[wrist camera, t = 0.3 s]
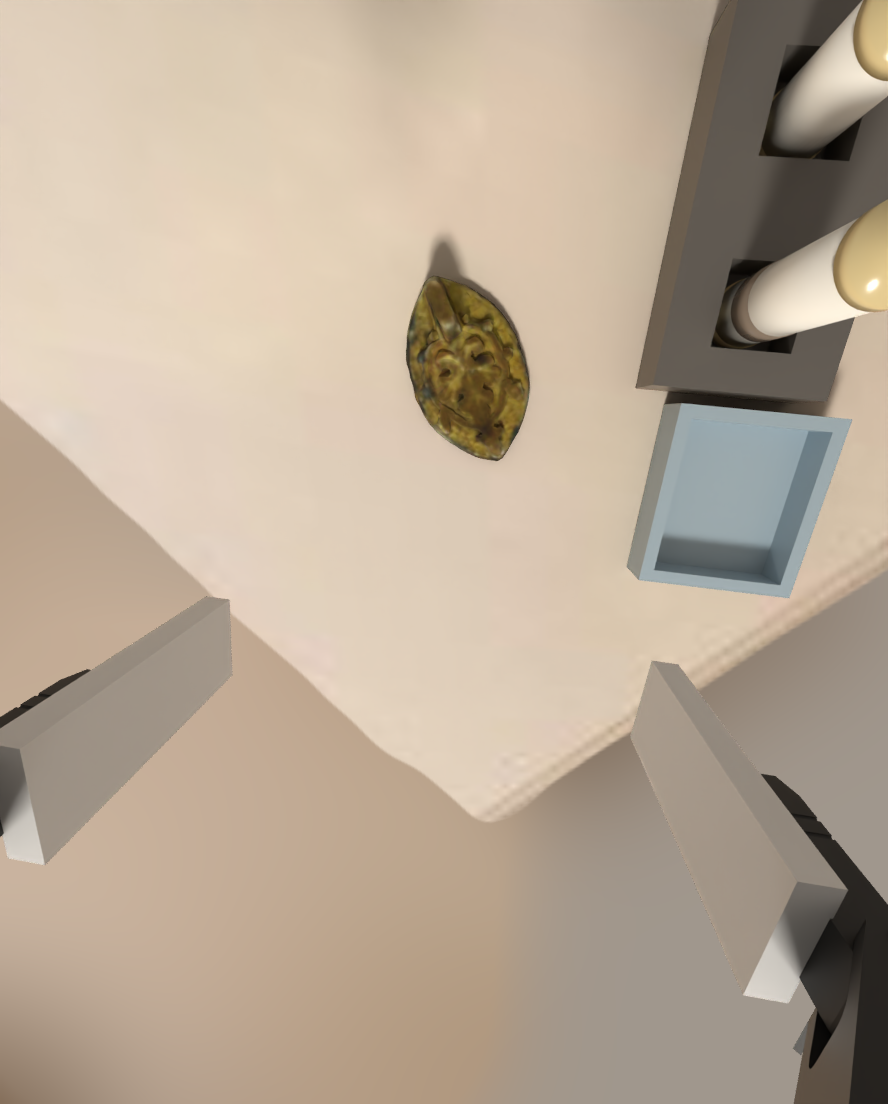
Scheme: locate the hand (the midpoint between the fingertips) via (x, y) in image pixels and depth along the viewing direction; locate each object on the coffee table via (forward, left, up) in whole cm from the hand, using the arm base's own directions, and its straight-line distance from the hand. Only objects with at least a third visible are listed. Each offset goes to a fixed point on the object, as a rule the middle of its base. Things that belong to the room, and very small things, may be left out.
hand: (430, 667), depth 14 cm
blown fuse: (-16, +18, -27) cm, 36 cm away
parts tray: (-3, +21, -28) cm, 35 cm away
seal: (-11, -1, -28) cm, 30 cm away
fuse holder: (-22, +18, -28) cm, 40 cm away
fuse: (-27, +18, -27) cm, 42 cm away
